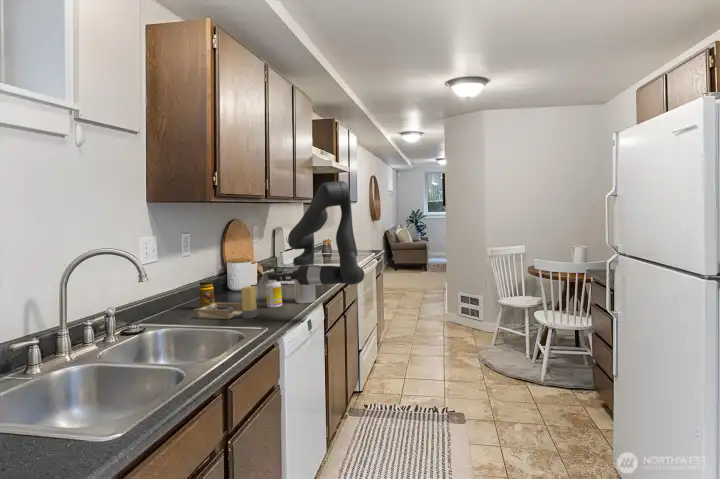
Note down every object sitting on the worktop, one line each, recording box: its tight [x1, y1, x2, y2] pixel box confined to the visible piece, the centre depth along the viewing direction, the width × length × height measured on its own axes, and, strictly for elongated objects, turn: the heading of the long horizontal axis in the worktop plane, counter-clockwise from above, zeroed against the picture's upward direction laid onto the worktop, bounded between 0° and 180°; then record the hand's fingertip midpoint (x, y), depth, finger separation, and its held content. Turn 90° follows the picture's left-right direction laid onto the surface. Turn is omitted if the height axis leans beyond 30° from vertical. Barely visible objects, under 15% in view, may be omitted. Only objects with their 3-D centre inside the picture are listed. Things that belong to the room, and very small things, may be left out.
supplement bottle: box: [265, 279, 283, 309], centre depth 212 cm, size 7×7×13 cm
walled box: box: [196, 302, 243, 320], centre depth 199 cm, size 14×14×4 cm
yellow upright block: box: [240, 285, 258, 319], centre depth 193 cm, size 4×4×12 cm
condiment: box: [194, 280, 216, 311], centre depth 213 cm, size 7×8×12 cm
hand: (273, 275), depth 189 cm, fingers open, 8 cm apart
